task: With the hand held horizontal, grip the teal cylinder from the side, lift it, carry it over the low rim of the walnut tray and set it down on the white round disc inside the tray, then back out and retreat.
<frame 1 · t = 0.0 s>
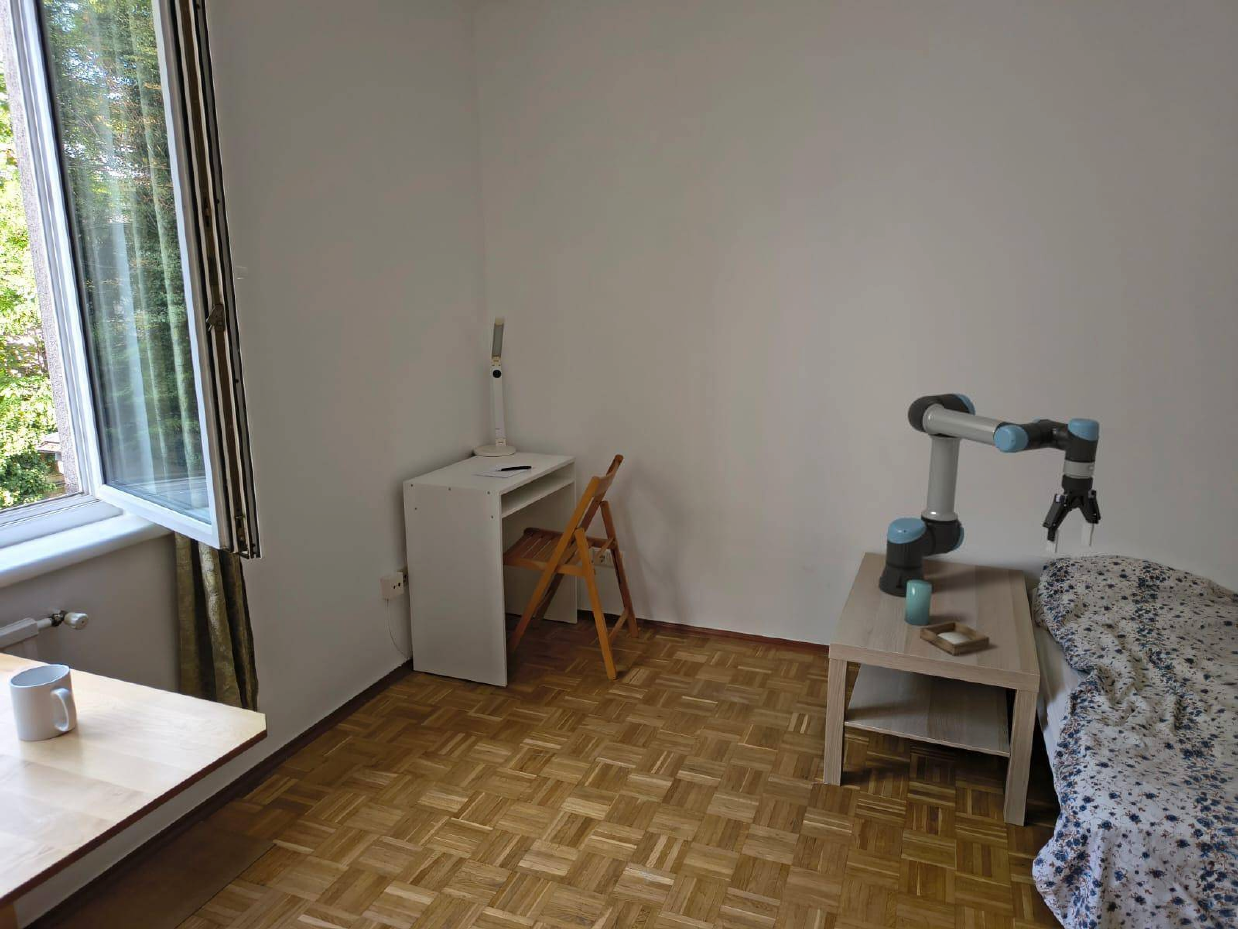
hand: (1068, 548, 239), 28 cm above the table, tool pointing down, fingers open, 13 cm apart
walnut tray: (953, 642, 244), on the table
teal cylinder: (916, 621, 259), on the table
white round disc: (953, 640, 244), in the walnut tray, point 1 cm above the table
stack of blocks: (905, 567, 304), on the table
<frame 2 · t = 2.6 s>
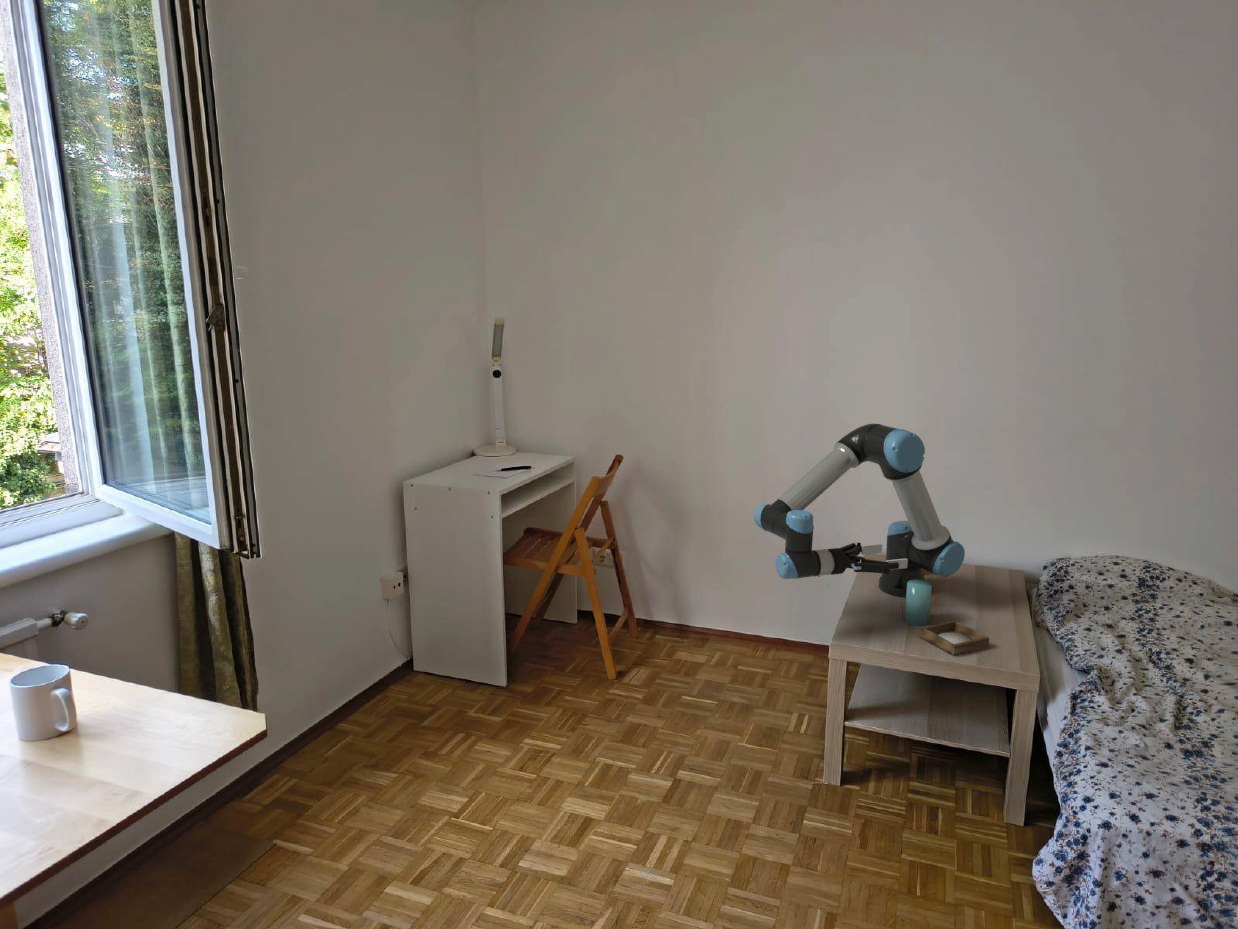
hand: (893, 555, 251), 22 cm above the table, tool horizontal, fingers open, 13 cm apart
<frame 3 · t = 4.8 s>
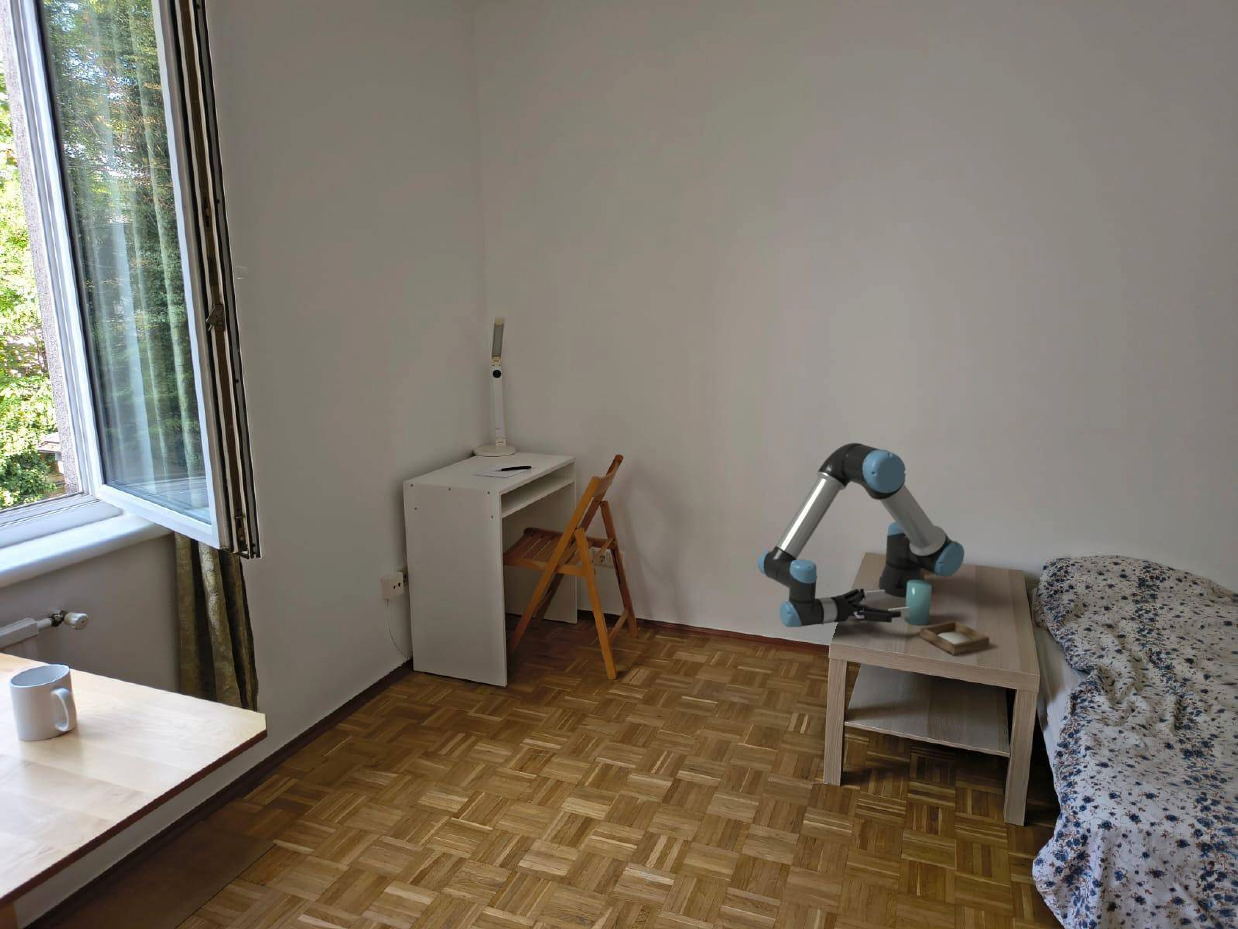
hand: (896, 602, 255), 7 cm above the table, tool horizontal, fingers open, 13 cm apart
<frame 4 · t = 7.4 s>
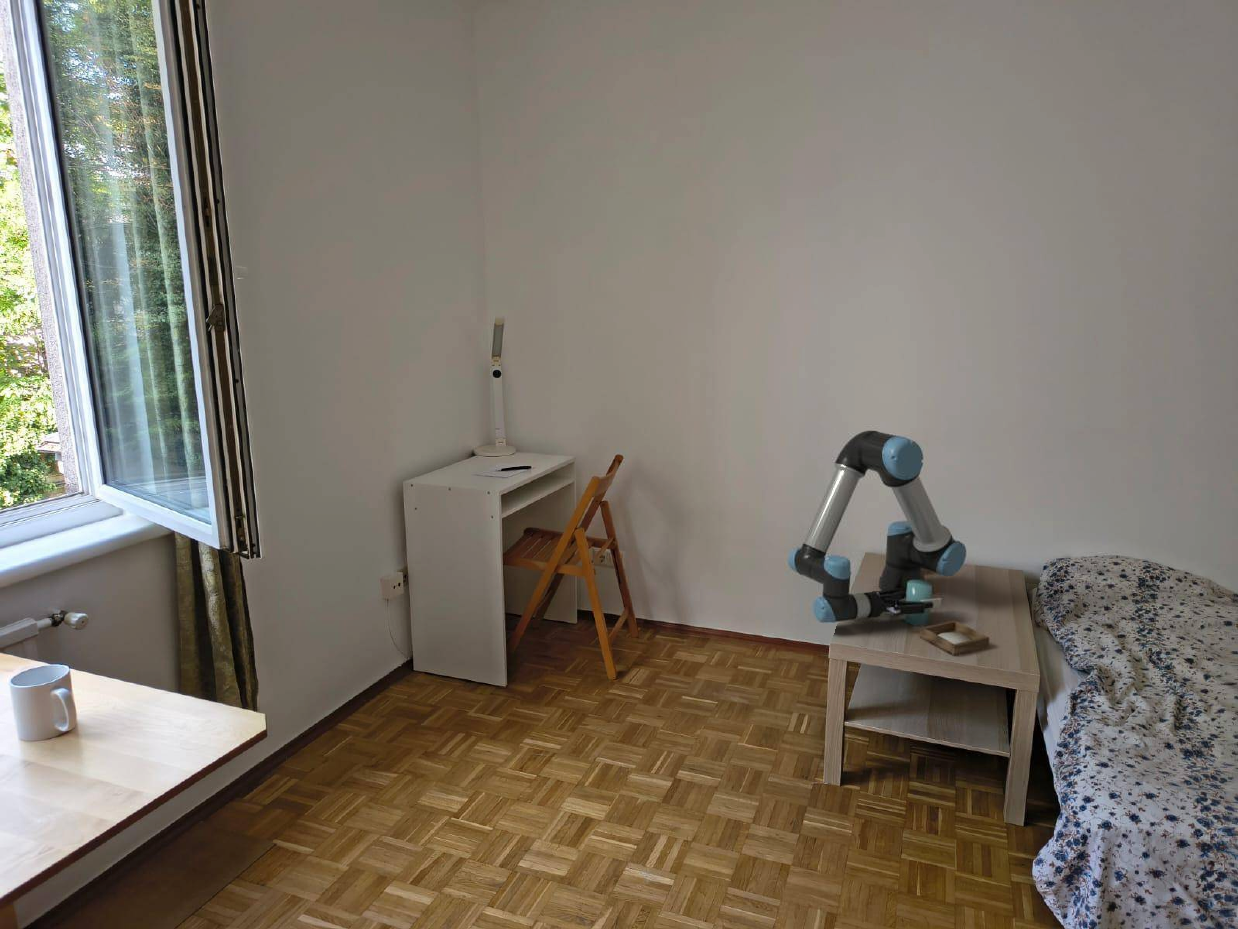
hand: (932, 597, 258), 7 cm above the table, tool horizontal, fingers closed on teal cylinder, 7 cm apart
teal cylinder: (916, 620, 259), on the table, touching gripper
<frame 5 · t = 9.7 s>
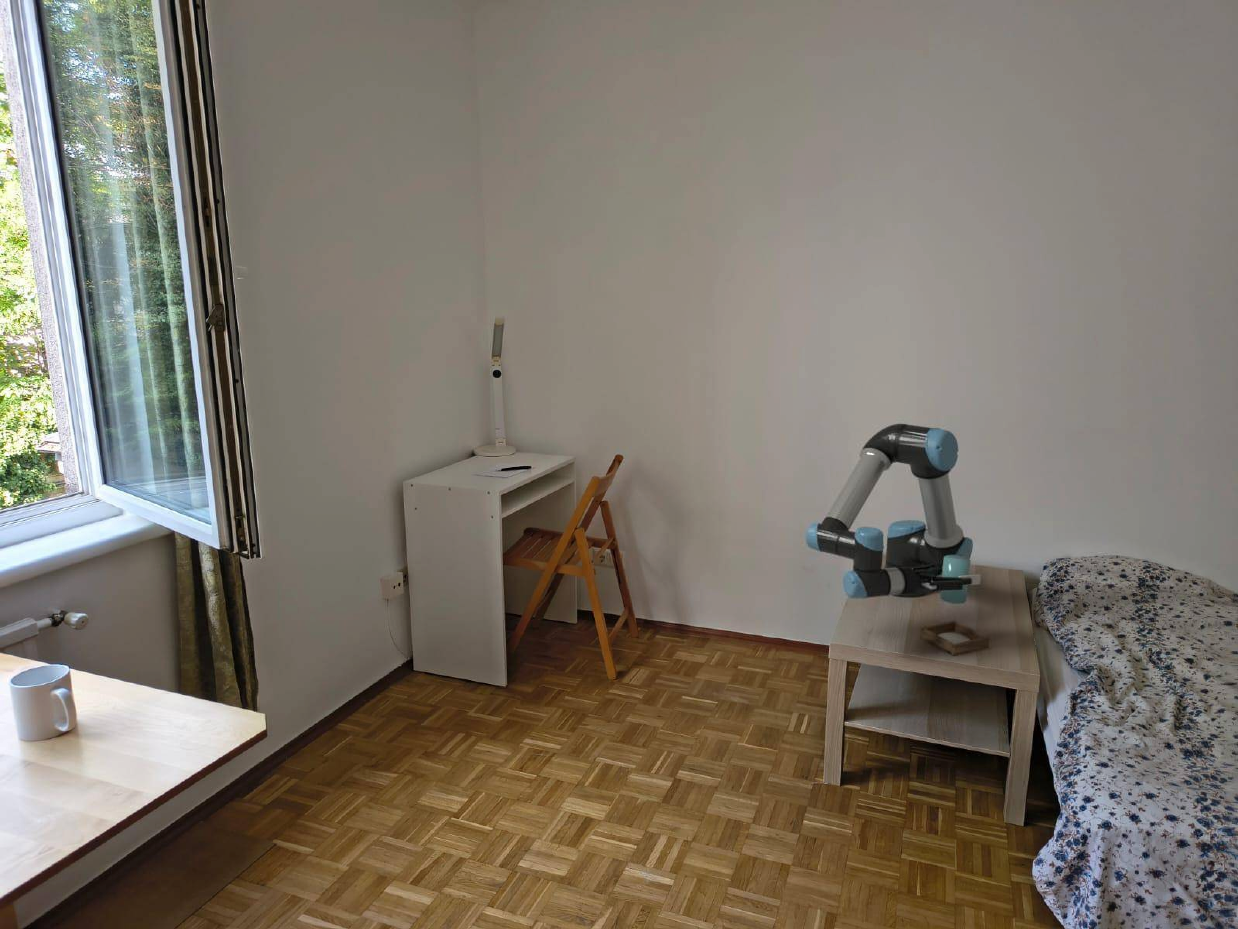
hand: (971, 574, 241), 20 cm above the table, tool horizontal, fingers closed on teal cylinder, 7 cm apart
teal cylinder: (953, 598, 242), point 13 cm above the table, touching gripper
when the fingers open (9 cm above the table, at t = 12.3 s): teal cylinder stays where it is, resting on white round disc.
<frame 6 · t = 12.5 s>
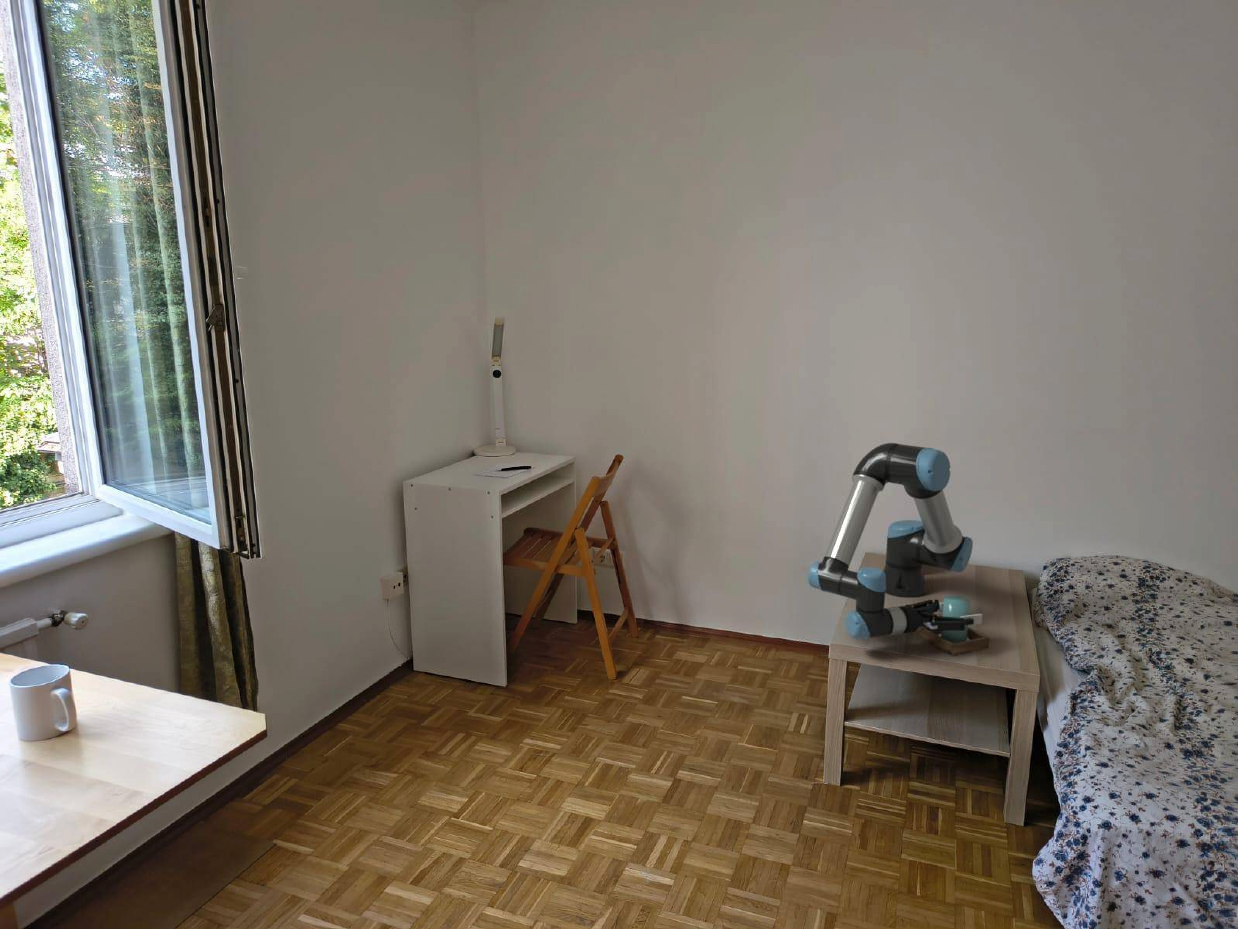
hand: (970, 611, 243), 9 cm above the table, tool horizontal, fingers open, 9 cm apart
teal cylinder: (953, 639, 244), point 1 cm above the table, touching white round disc
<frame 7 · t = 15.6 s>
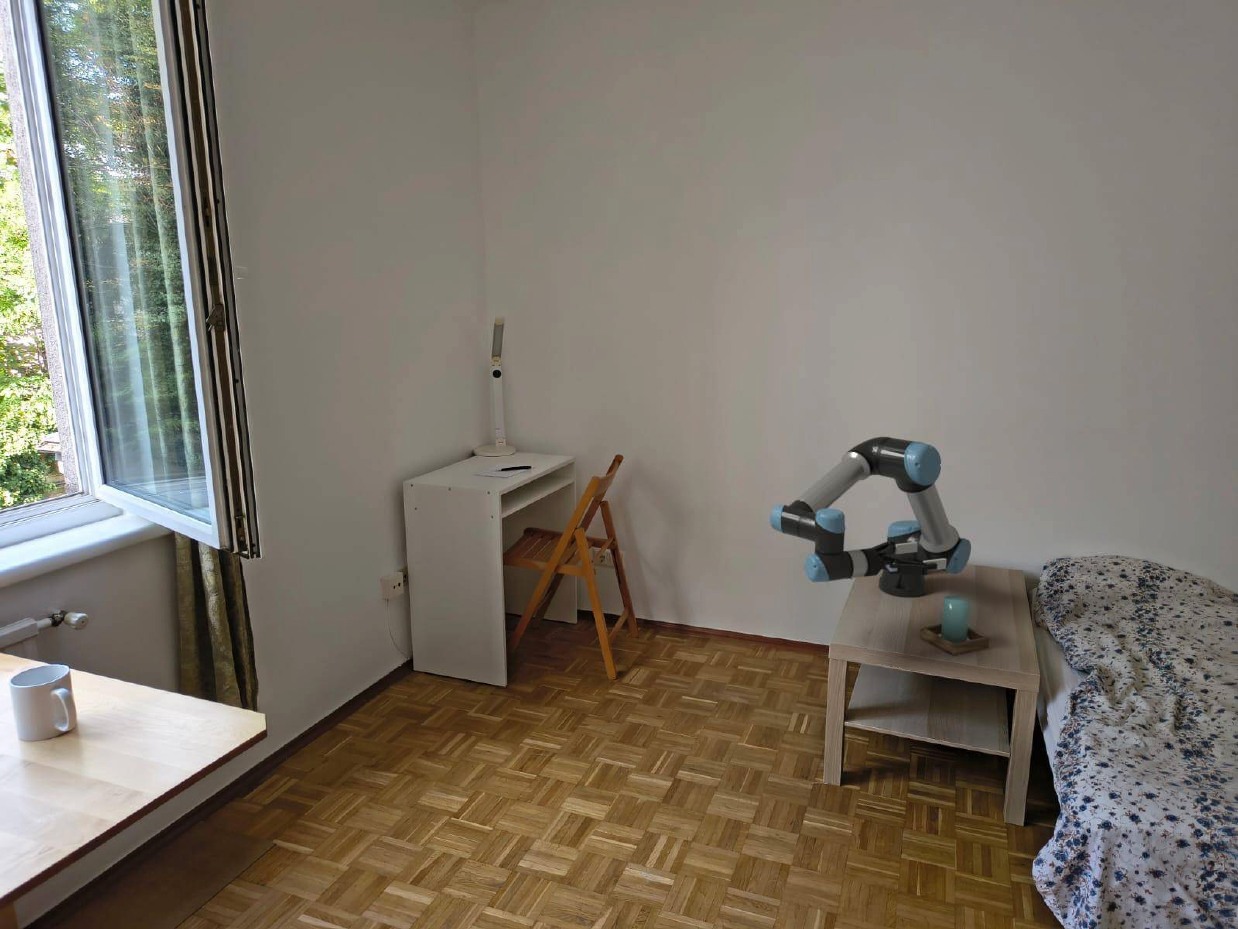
hand: (930, 555, 235), 28 cm above the table, tool horizontal, fingers open, 13 cm apart
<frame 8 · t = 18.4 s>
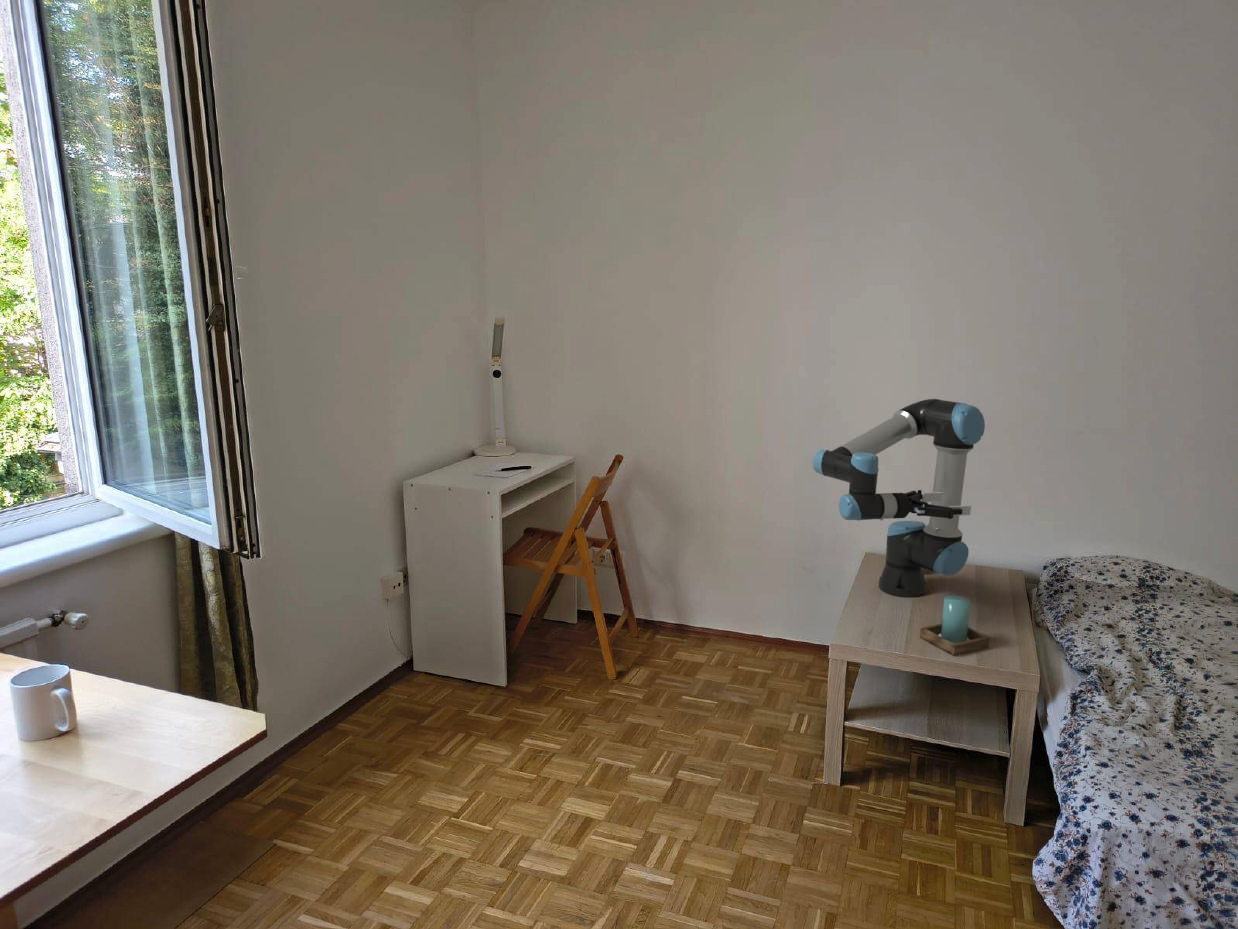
hand: (956, 503, 253), 37 cm above the table, tool horizontal, fingers open, 13 cm apart
at the end: teal cylinder inside the target area on the walnut tray (0.1 cm from its centre), point 1.0 cm above the walnut tray's base; teal cylinder tilted 0°; the gripper is holding nothing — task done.
